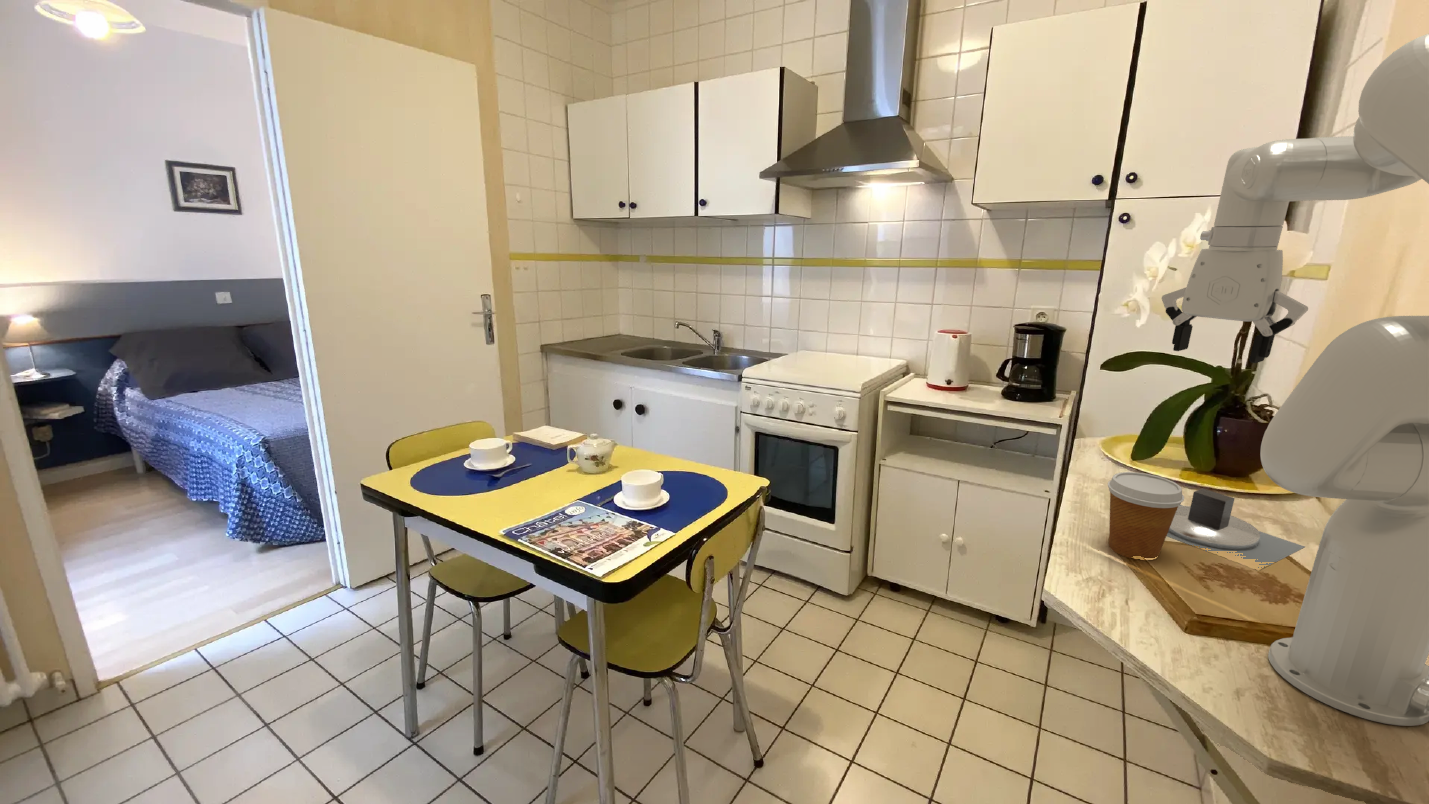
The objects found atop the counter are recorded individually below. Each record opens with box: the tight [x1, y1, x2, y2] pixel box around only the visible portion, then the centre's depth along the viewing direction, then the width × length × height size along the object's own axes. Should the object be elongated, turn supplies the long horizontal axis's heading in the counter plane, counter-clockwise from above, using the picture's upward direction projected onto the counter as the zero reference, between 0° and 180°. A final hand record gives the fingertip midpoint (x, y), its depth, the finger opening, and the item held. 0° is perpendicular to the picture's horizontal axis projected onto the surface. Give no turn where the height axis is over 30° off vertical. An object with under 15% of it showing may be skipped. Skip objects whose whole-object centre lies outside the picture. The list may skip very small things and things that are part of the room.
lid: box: [1168, 488, 1261, 551], centre depth 97 cm, size 13×13×6 cm
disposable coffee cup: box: [1107, 471, 1185, 559], centre depth 91 cm, size 10×10×12 cm
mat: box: [1166, 504, 1306, 568], centre depth 98 cm, size 20×15×1 cm
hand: (1216, 355), depth 90 cm, fingers open, 9 cm apart
